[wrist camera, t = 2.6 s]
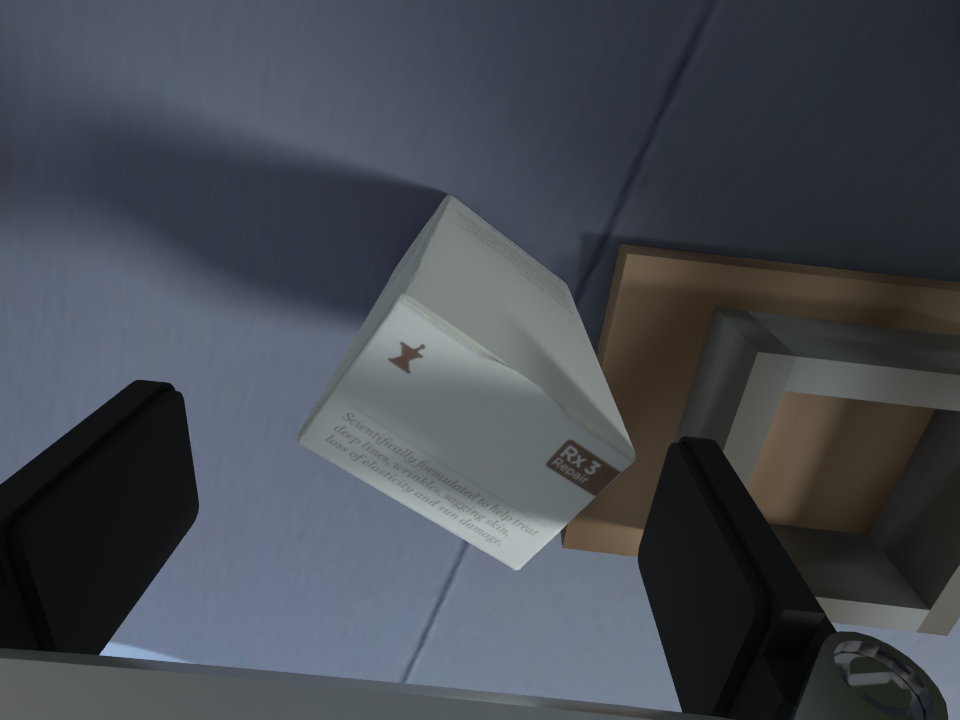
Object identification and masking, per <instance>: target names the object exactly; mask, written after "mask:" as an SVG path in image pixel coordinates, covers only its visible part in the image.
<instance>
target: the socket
mask: <svg viewBox="0 0 960 720" xmlns="http://www.w3.org/2000/svg"><path fill="white" fill-rule="evenodd" d="M596 357H597V360H598V362H599V365H600V367H601V370H602V372H603V375H604V377H605V379H606V382H607V384H608V387H609V389H610V392H611V394H612V397H613V399H614V401H615V404H616V406H617V409H618V411H619V414H620V416H621V419H622V421H623V424H624V427H625V429H626V431H627V433H628V436H629V439H630V441H631V443H632V446H633V448H634V451H635V454H636V457H635V461H634V462H633V463H632V464H631V465H630V466H629V467H628V468H626V469H625V470H624V471H623V472H622V473H621V474H620V475H619V476H618V477H617V478H616V479H614V480H613V481H612V482H611V483H610V484H609V485H608V486H607V487H606V488H605V489H604V490H603V491H602V492H600V493H599V494H598V495H597V496H596V497H595V498H594V499H593V500H592V501H591V502H590V503H589V504H588V505H587V506H586V507H585V508H584V509H583V510H582V511H580V512H579V513H578V514H577V515H576V516H575V517H574V518H573V519H572V520H571V521H570V522H569V523H568V524H567V525H566V526H565V527H564V528H563V529H562V530H561V539H562V548H569V549H577V550H586V551H594V552H603V553H611V554H620V555H628V556H637V557H638V549H639V545H640V542H641V538H642V535H643V532H644V528H645V525H646V522H647V518H648V515H649V511H650V508H651V505H652V501H653V498H654V495H655V491H656V488H657V484H658V481H659V478H660V474H661V471H662V468H663V464H664V461H665V457H666V454H667V451H668V448H669V446H670V444H671V443H678V442H679V440H680V439H681V438H682V437H683V436H687V437H696V438H706V439H713V440H715V441H716V442H717V443H718V445H719V447H720V448H721V450H722V451H723V453H724V454H725V456H726V458H727V459H728V461H729V462H730V464H731V465H732V467H733V469H734V470H735V472H736V473H737V475H738V476H739V478H740V480H741V481H742V483H743V484H744V486H745V488H746V489H747V491H748V492H749V494H750V495H751V497H752V499H753V500H754V502H755V503H756V505H757V506H758V508H759V510H760V511H761V513H762V514H763V516H764V517H765V519H766V521H767V522H768V524H769V525H770V527H771V528H772V530H773V532H774V533H775V535H776V536H777V538H778V539H779V541H780V543H781V544H782V546H783V547H784V549H785V550H786V552H787V554H788V555H789V557H790V558H791V560H792V561H793V563H794V565H795V566H796V568H797V569H798V571H799V572H800V574H801V576H802V577H803V579H804V580H805V582H806V584H807V585H808V587H809V588H810V590H811V591H812V593H813V595H814V596H815V598H816V599H817V601H818V602H819V604H820V606H821V607H822V609H823V610H824V612H825V613H826V616H827V617H828V619H829V620H830V622H835V623H843V624H852V625H860V626H869V627H877V628H886V629H894V630H903V631H911V632H920V633H928V634H937V635H945V636H947V635H948V634H949V632H950V631H951V629H952V628H953V626H954V625H955V623H956V622H957V620H958V619H959V618H960V283H959V282H951V281H942V280H933V279H924V278H916V277H907V276H898V275H889V274H881V273H872V272H863V271H855V270H846V269H837V268H828V267H820V266H811V265H802V264H793V263H785V262H776V261H767V260H758V259H750V258H741V257H732V256H723V255H715V254H706V253H697V252H689V251H680V250H671V249H662V248H654V247H645V246H636V245H627V244H620V246H619V251H618V256H617V260H616V265H615V270H614V274H613V279H612V284H611V289H610V293H609V298H608V303H607V307H606V312H605V317H604V321H603V326H602V331H601V335H600V340H599V345H598V350H597V354H596Z"/></svg>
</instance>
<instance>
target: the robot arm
mask: <svg viewBox="0 0 960 720" xmlns="http://www.w3.org/2000/svg"><path fill="white" fill-rule="evenodd" d="M198 510H199V500H198V493H197V486H196V480H195V473H194V466H193V459H192V452H191V445H190V438H189V431H188V424H187V417H186V410H185V404H184V398H183V395H182V394H181V393H180V392H179V391H175V388H174V387H173V385H172V384H170V383H166V382H156V381H146V380H136V381H134V382H132V383H131V384H130V385H128V386H127V387H126V388H124V389H123V390H122V391H120V392H119V393H118V394H117V395H115V396H114V397H113V398H111V399H110V400H109V401H108V402H106V403H105V404H104V405H102V406H101V407H100V408H99V409H97V410H96V411H95V412H93V413H92V414H91V415H90V416H88V417H87V418H86V419H84V420H83V421H82V422H81V423H79V424H78V425H77V426H75V427H74V428H73V429H71V430H70V431H69V432H68V433H66V434H65V435H64V436H62V437H61V438H60V439H59V440H57V441H56V442H55V443H53V444H52V445H51V446H50V447H48V448H47V449H46V450H44V451H43V452H42V453H41V454H39V455H38V456H37V457H35V458H34V459H33V460H32V461H30V462H29V463H28V464H26V465H25V466H24V467H23V468H21V469H20V470H19V471H17V472H16V473H15V474H13V475H12V476H11V477H10V478H8V479H7V480H6V481H4V482H3V483H2V484H1V485H0V720H948V713H947V706H946V702H945V700H944V698H943V697H942V695H941V693H940V691H939V689H938V687H937V686H936V685H935V683H934V682H933V681H932V680H931V679H930V677H929V676H928V675H927V674H926V673H925V671H924V670H922V669H921V668H920V667H919V666H918V665H917V664H916V663H914V662H913V661H912V660H911V659H910V658H909V657H907V656H906V655H904V654H903V653H901V652H900V651H898V650H897V649H895V648H894V647H892V646H891V645H889V644H887V643H885V642H882V641H880V640H878V639H876V638H874V637H872V636H868V635H864V634H860V633H857V632H837V631H836V630H835V628H834V627H833V625H832V624H831V622H830V620H829V619H828V617H827V616H826V613H825V612H824V610H823V609H822V607H821V606H820V604H819V602H818V601H817V599H816V598H815V596H814V595H813V593H812V591H811V590H810V588H809V587H808V585H807V584H806V582H805V580H804V579H803V577H802V576H801V574H800V572H799V571H798V569H797V568H796V566H795V565H794V563H793V561H792V560H791V558H790V557H789V555H788V554H787V552H786V550H785V549H784V547H783V546H782V544H781V543H780V541H779V539H778V538H777V536H776V535H775V533H774V532H773V530H772V528H771V527H770V525H769V524H768V522H767V521H766V519H765V517H764V516H763V514H762V513H761V511H760V510H759V508H758V506H757V505H756V503H755V502H754V500H753V499H752V497H751V495H750V494H749V492H748V491H747V489H746V488H745V486H744V484H743V483H742V481H741V480H740V478H739V476H738V475H737V473H736V472H735V470H734V469H733V467H732V465H731V464H730V462H729V461H728V459H727V458H726V456H725V454H724V453H723V451H722V450H721V448H720V447H719V445H718V443H717V442H716V441H715V440H713V439H706V438H696V437H687V436H683V437H682V438H681V439H680V440H679V442H678V443H671V444H670V446H669V448H668V451H667V454H666V457H665V461H664V464H663V468H662V471H661V474H660V478H659V481H658V484H657V488H656V491H655V495H654V498H653V501H652V505H651V508H650V511H649V515H648V518H647V522H646V525H645V528H644V532H643V535H642V538H641V542H640V545H639V549H638V565H639V569H640V572H641V576H642V579H643V582H644V586H645V589H646V592H647V596H648V599H649V602H650V606H651V609H652V612H653V616H654V619H655V622H656V626H657V629H658V632H659V636H660V639H661V642H662V646H663V649H664V652H665V656H666V659H667V662H668V666H669V669H670V672H671V676H672V679H673V682H674V686H675V689H676V692H677V696H678V699H679V702H680V706H681V709H682V712H683V713H681V712H673V711H664V710H656V709H647V708H639V707H631V706H622V705H613V704H604V703H594V702H584V701H574V700H564V699H554V698H544V697H534V696H525V695H515V694H505V693H495V692H485V691H475V690H465V689H455V688H445V687H435V686H424V685H414V684H404V683H393V682H383V681H372V680H362V679H352V678H341V677H330V676H320V675H309V674H299V673H288V672H278V671H267V670H256V669H245V668H234V667H223V666H212V665H201V664H189V663H178V662H166V661H156V660H144V659H133V658H122V657H111V656H100V655H99V654H100V653H101V651H102V650H103V649H104V648H105V646H106V645H107V643H108V642H109V641H110V639H111V638H112V636H113V635H114V634H115V632H116V631H117V629H118V628H119V627H120V625H121V624H122V622H123V621H124V620H125V618H126V617H127V615H128V614H129V613H130V611H131V610H132V608H133V607H134V606H135V604H136V603H137V601H138V600H139V599H140V597H141V596H142V595H143V593H144V592H145V590H146V589H147V588H148V586H149V585H150V583H151V582H152V581H153V579H154V578H155V576H156V575H157V574H158V572H159V571H160V569H161V568H162V567H163V565H164V564H165V562H166V561H167V560H168V558H169V557H170V555H171V554H172V553H173V551H174V550H175V548H176V547H177V546H178V544H179V543H180V542H181V540H182V539H183V537H184V536H185V535H186V533H187V532H188V530H189V529H190V528H191V526H192V525H193V523H194V522H195V520H196V517H197V514H198Z"/></svg>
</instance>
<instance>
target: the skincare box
mask: <svg viewBox="0 0 960 720" xmlns="http://www.w3.org/2000/svg"><path fill="white" fill-rule="evenodd" d="M297 440H298V443H299V444H300V445H302V446H303V447H305V448H307V449H309V450H310V451H312V452H314V453H315V454H317V455H319V456H321V457H323V458H324V459H326V460H328V461H330V462H331V463H333V464H335V465H337V466H338V467H340V468H342V469H344V470H345V471H347V472H349V473H350V474H352V475H354V476H356V477H357V478H359V479H361V480H363V481H364V482H366V483H368V484H369V485H371V486H373V487H375V488H376V489H378V490H380V491H381V492H383V493H385V494H387V495H388V496H390V497H392V498H393V499H395V500H397V501H399V502H400V503H402V504H404V505H405V506H407V507H409V508H411V509H412V510H414V511H416V512H417V513H419V514H421V515H423V516H424V517H426V518H428V519H430V520H431V521H433V522H435V523H436V524H438V525H440V526H441V527H443V528H445V529H446V530H448V531H450V532H451V533H453V534H455V535H457V536H458V537H460V538H462V539H464V540H466V541H467V542H469V543H470V544H472V545H474V546H476V547H477V548H479V549H481V550H482V551H484V552H486V553H487V554H489V555H491V556H492V557H494V558H496V559H498V560H499V561H501V562H503V563H504V564H506V565H507V566H509V567H511V568H512V569H514V570H519V569H520V568H521V567H522V566H523V565H524V564H526V563H527V562H528V561H529V560H530V559H531V558H532V557H533V556H534V555H535V554H536V553H537V552H538V551H539V550H540V549H541V548H543V547H544V546H545V545H546V544H547V543H548V542H549V541H550V540H551V539H552V538H553V537H554V536H555V535H557V534H558V533H559V532H560V531H561V530H562V529H563V528H564V527H565V526H566V525H567V524H568V523H569V522H570V521H571V520H572V519H573V518H574V517H575V516H576V515H577V514H578V513H579V512H580V511H582V510H583V509H584V508H585V507H586V506H587V505H588V504H589V503H590V502H591V501H592V500H593V499H594V498H595V497H596V496H597V495H598V494H599V493H600V492H602V491H603V490H604V489H605V488H606V487H607V486H608V485H609V484H610V483H611V482H612V481H613V480H614V479H616V478H617V477H618V476H619V475H620V474H621V473H622V472H623V471H624V470H625V469H626V468H628V467H629V466H630V465H631V464H632V463H633V462H634V461H635V457H636V454H635V451H634V448H633V446H632V443H631V441H630V439H629V436H628V433H627V431H626V429H625V427H624V424H623V421H622V419H621V416H620V414H619V411H618V409H617V406H616V404H615V401H614V399H613V397H612V394H611V392H610V389H609V387H608V384H607V382H606V379H605V377H604V375H603V372H602V370H601V367H600V365H599V362H598V360H597V357H596V355H595V352H594V350H593V348H592V345H591V343H590V340H589V338H588V335H587V333H586V330H585V328H584V325H583V323H582V320H581V318H580V315H579V313H578V311H577V308H576V306H575V303H574V301H573V298H572V296H571V293H570V291H569V288H568V286H567V284H566V283H565V282H564V281H563V280H561V279H560V278H559V277H557V276H556V275H555V274H553V273H552V272H551V271H550V270H548V269H547V268H546V267H544V266H543V265H542V264H540V263H539V262H538V261H537V260H535V259H534V258H533V257H531V256H530V255H529V254H528V253H526V252H525V251H524V250H522V249H521V248H520V247H518V246H517V245H516V244H515V243H513V242H512V241H511V240H509V239H508V238H507V237H505V236H504V235H503V234H502V233H500V232H499V231H498V230H496V229H495V228H494V227H492V226H491V225H490V224H489V223H487V222H486V221H485V220H483V219H482V218H481V217H479V216H478V215H477V214H476V213H474V212H473V211H472V210H470V209H469V208H468V207H467V206H465V205H464V204H463V203H461V202H460V201H459V200H457V199H456V198H455V197H453V196H452V195H447V196H446V197H445V198H444V200H443V201H442V202H441V204H440V205H439V207H438V208H437V209H436V211H435V212H434V214H433V215H432V216H431V218H430V219H429V221H428V222H427V223H426V225H425V226H424V228H423V229H422V230H421V232H420V233H419V235H418V236H417V237H416V239H415V240H414V242H413V243H412V245H411V246H410V247H409V249H408V250H407V252H406V253H405V255H404V256H403V258H402V259H401V261H400V262H399V263H398V265H397V266H396V268H395V270H394V271H393V273H392V275H391V277H390V279H389V281H388V283H387V285H386V286H385V288H384V289H383V291H382V293H381V295H380V296H379V298H378V300H377V301H376V303H375V305H374V306H373V308H372V310H371V311H370V313H369V314H368V316H367V318H366V319H365V321H364V323H363V325H362V326H361V328H360V330H359V332H358V333H357V335H356V337H355V338H354V340H353V342H352V343H351V345H350V347H349V348H348V350H347V352H346V353H345V355H344V357H343V358H342V360H341V362H340V363H339V365H338V367H337V368H336V370H335V372H334V373H333V375H332V377H331V378H330V380H329V382H328V384H327V386H326V388H325V390H324V392H323V394H322V395H321V397H320V398H319V400H318V401H317V403H316V404H315V406H314V407H313V409H312V410H311V412H310V413H309V415H308V417H307V419H306V420H305V422H304V424H303V426H302V428H301V430H300V432H299V434H298V438H297Z"/></svg>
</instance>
